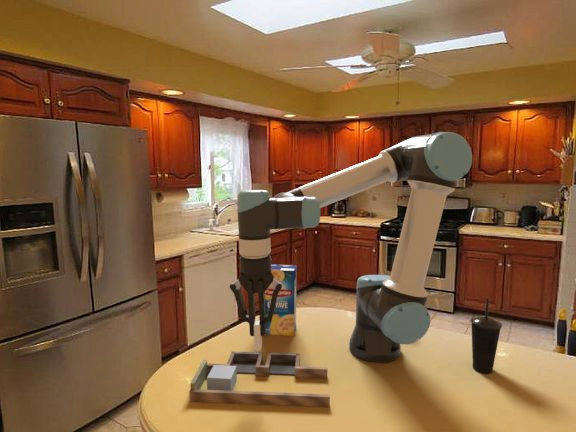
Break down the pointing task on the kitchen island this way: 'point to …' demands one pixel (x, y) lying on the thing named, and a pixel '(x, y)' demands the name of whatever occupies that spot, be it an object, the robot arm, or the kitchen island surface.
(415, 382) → the kitchen island surface
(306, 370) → the trap lane
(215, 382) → the gray block
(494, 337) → the drinking cup
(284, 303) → the beverage box
